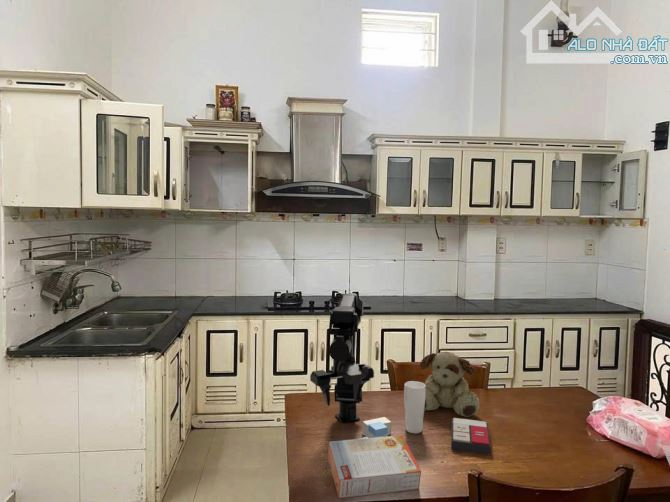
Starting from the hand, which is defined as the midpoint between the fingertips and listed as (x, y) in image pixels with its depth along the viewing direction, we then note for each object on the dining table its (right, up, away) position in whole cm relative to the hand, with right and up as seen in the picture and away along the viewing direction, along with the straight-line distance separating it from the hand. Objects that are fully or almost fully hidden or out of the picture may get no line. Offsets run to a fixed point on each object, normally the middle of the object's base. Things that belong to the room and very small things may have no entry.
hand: (342, 402), depth 135 cm
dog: (+39, -12, +30) cm, 51 cm away
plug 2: (+10, -13, -4) cm, 17 cm away
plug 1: (+11, -12, +7) cm, 18 cm away
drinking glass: (+23, -12, +10) cm, 28 cm away
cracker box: (+18, -10, -16) cm, 26 cm away
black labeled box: (+39, -14, +4) cm, 42 cm away
